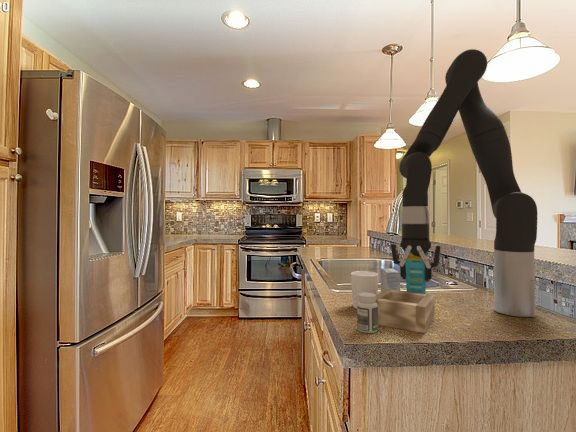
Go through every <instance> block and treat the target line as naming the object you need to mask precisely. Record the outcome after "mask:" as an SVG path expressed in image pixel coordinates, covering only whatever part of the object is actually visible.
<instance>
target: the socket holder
mask: <svg viewBox="0 0 576 432" xmlns="http://www.w3.org/2000/svg"><path fill="white" fill-rule="evenodd" d="M435 298H436V297H435V295H434V294H427V293H426V294H419V293H411V292H407V291H402V290H400V291H395V290H387V289H385V290H383V291H382V292H381V291H380V292H378V293H377V295H376V301H375V302H376V303H377V305H378V326H384V327H388V328H393V329H394V328H395V329H401V330H406V331H410V332H411V331H412V332H417V333H423V334H426V333H427V330H429V328H430V326H431V324H432V323H433V321H434V320H435V318H436V317H435V314H436V313H435V312H436V311H435V310H436V309H435V307H436V306H435V303H436V300H435Z"/></svg>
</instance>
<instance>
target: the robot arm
mask: <svg viewBox="0 0 576 432" xmlns="http://www.w3.org/2000/svg"><path fill="white" fill-rule="evenodd" d="M487 68H488V58H487V57H486V55H485V53H484V52H482V50H479V49H476V48H475V49H474V48H470V49H466V50H464V51H462V52H461V53H459V54H458V55H457V56H456V57H455V59H453V60H452V62H451V64H450V65H449V67H448V69H447V70H446V73H445V77H444V78H445V84H446V85H445V88H444V90H443V91H442V93H441V95H440V96H439V98H438V100H437V102H436V103H435V104H434V106H433V107H432V109H431V110H430V112H429V114H428V115H427V117H426V119H424V122H423V124H422V126H421V128H420V129H419V131H418V134H417V135H416V137H415V140H414V141H413V143H412V144H411V145H410V147H409V148H408V149H407V151H406V152H405V154H404V155H403V157H402V159H401V160H400V163H399V173H400V175H401V176H402V177H403V178H405V179H406V184H405V187H404V188H403V189H402V195H401V196H402V197H401V198H402V204H401V205H402V207H401V208H402V210H401V242H399V243H392V244H390V249H391V255H392V261H393V264H394V265H398V266H399V272H400V278H402V280H406V271H405V262H406V259H407V257H408V255H409V253H410V252H411V253H412V254H413V255H414V256H418V257H420V258H422V260H423V261H424V263H425V265H426V267H427V268H426V282H430V281H431V280H432V278H433V269H434V268H435V267H438V266H439V264H440V259H441V255H442V254H441V253H442V249H443V248H442V245H440V244H432V243H431V241H430V240H429V239H430V211H429V189H430V183H431V179H432V178H431V177H432V169H433V168H432V167H433V165H432V161H431V156H432V154H433V153H434V152H436V151H437V150H438V149H439V147H440V146H441V144H442V143H443V141H444V138H445V137H446V135H447V133H448V131H449V130H450V129H451V126H452V123H453V122H454V119H455V117H456V115H457V114H458V112H459V116H460V120H461V122H462V124H463V128H464V130H465V134H466V137H467V139H468V143H469V146H470V149H471V152H472V154H473V156H474V159H475V162H476V164H477V166H478V168H479V171H480V173H481V175H482V177H483V179H484V182H485V185H486V187H487V192H488V197H489V200H490V204H491V205H490V206H491V211H492V214H493V216H494V218H495V220H496V221H495V237H494V241H493V310H494V312H497V313H499V314H503V315H507V316H512V317H518V318H519V317H520V318H536V282H535V246H536V242H537V237H538V207H537V203H536V201H535V199H534V198H533V197H532V196H531V195H529V194H527V193H524V192H522V189H521V188H520V186H519V184H518V181H517V178H516V175H515V173H514V166H513V154H512V147H511V143H510V139H509V137H508V134H507V131H506V128H505V126H504V124H503V122H502V120H501V119H500V118H499V116H498V115H497V114H496V113H495V112H494V111H493V110H492V109H490V107H489V106H487V104H486V103H485V101H484V99H483V97H482V93H481V90H480V87H479V81H480V80H481V79H482V78H483V77H484V75H485V73H486V72H487ZM400 248H401V249H402V250H403V255H402V257H401V260H400V255H399V251H400ZM405 248H407V249H406V251H405ZM430 249H431V250H432V252H433V253H434V255H433V262H431V258H430V257H429V255H428V257H426V255H425V254H426V253H427V251H428V252H429V251H430ZM404 251H405V253H404ZM423 256H424V257H423Z"/></svg>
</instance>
